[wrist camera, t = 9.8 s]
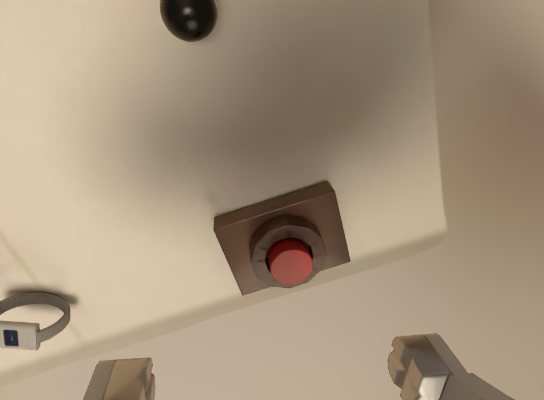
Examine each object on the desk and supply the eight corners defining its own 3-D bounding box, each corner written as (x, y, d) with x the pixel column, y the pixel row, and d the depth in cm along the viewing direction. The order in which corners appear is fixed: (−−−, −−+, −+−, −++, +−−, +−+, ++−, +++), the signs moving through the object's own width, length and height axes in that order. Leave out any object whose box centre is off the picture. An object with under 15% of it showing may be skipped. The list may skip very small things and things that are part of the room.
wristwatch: (78, 289, 33) (55, 329, 28) (78, 310, 34) (56, 352, 29) (6, 282, 31) (-30, 323, 27) (8, 305, 32) (-26, 348, 28)
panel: (327, 180, 31) (341, 199, 27) (343, 248, 34) (357, 273, 31) (213, 217, 31) (212, 240, 27) (241, 281, 35) (243, 309, 31)
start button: (303, 232, 29) (307, 244, 27) (312, 265, 30) (317, 277, 29) (262, 245, 29) (265, 257, 27) (274, 277, 30) (277, 290, 29)
